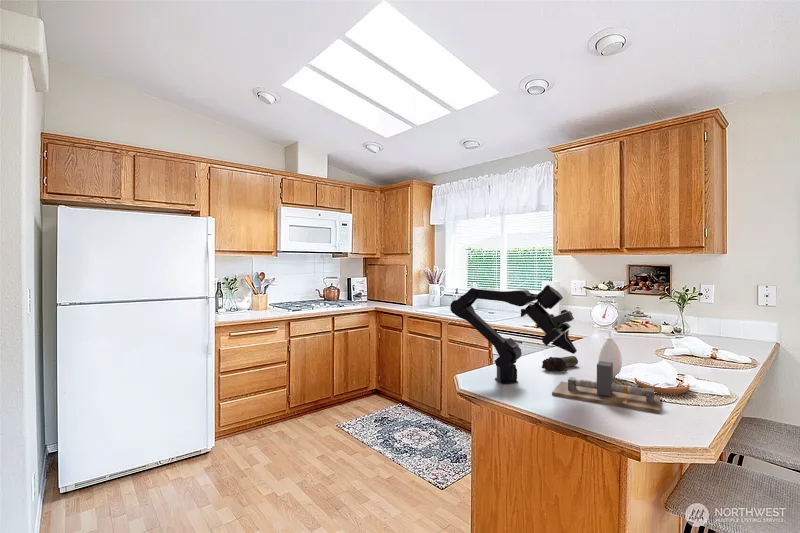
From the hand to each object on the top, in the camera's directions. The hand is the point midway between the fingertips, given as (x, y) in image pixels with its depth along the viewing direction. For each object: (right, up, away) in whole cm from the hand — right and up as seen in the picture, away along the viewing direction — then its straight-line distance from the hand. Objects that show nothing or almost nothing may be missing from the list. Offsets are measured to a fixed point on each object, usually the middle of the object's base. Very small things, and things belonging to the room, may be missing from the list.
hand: (575, 352), depth 134 cm
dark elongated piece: (+7, -14, +30) cm, 34 cm away
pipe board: (+8, -14, -5) cm, 16 cm away
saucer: (+31, -14, +3) cm, 34 cm away
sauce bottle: (+20, -13, +16) cm, 29 cm away
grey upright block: (+7, -12, -5) cm, 15 cm away
